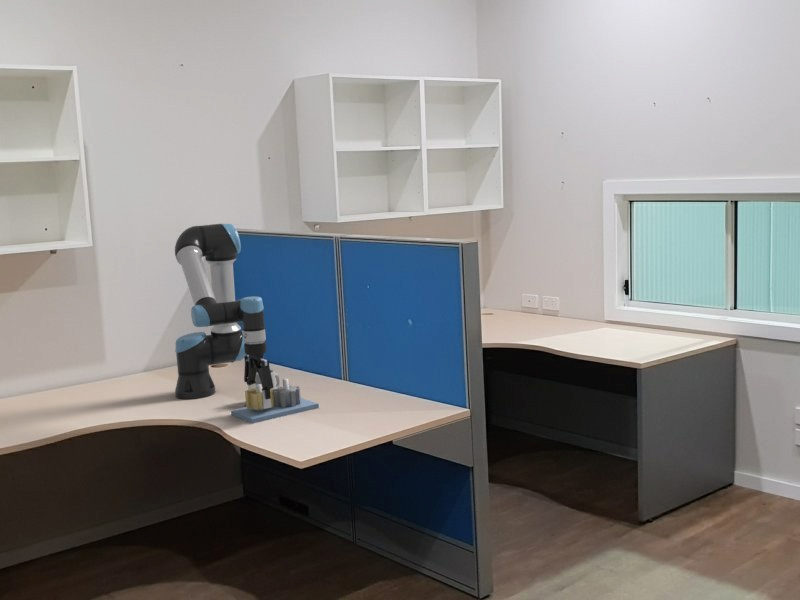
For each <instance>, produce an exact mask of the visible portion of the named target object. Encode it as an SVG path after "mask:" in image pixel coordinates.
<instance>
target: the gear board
mask: <svg viewBox="0 0 800 600" xmlns="http://www.w3.org/2000/svg"><path fill="white" fill-rule="evenodd" d="M289 384H290V383H289V378H283V379H282V386H280V387H278V388H277V389H273V396H274V406H272V407H271V408H267V409H264V408H263V409H258V410H254V409H247V407H246V406H245V407H240V408H237V409H231V410H230V415H231V416H232V417H236V418H239V419H241V420H244V421H245V422H248V423H251V424H255V423H260V422H265V421H269V420H273V419H277V417H278V418H281V416H282V417H285V416H290V415H293V414H297V413H302V412H307V411H311V410H315V409H320V406H319V402H315V401H311V400H309V399H306V398H303V397H301V388H300V386H298V385H297V386H292V385H289ZM261 389H262V385H261V384H258V385H256V392H262V390H261ZM272 418H273V419H272Z"/></svg>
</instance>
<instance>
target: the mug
mask: <svg viewBox="0 0 800 600" xmlns="http://www.w3.org/2000/svg"><path fill="white" fill-rule="evenodd" d="M270 372H271V377H272V381H273V388H272V390H273V389H277V388H278V387H281V382H280V381H281V380H280V379H281V378H280V376H279V374H278V373H276V372H275V370H273V369H270ZM255 381H256V383H254V384H256V385H258V384H261V380H260V377H259V374H258V372H256V377H255ZM261 385H262V384H261Z"/></svg>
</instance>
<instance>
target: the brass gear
mask: <svg viewBox="0 0 800 600" xmlns="http://www.w3.org/2000/svg"><path fill="white" fill-rule="evenodd" d="M262 389H263V387H262ZM244 393H245V407H247V409H254V410H258V409H263V397H262V392H256V388H252V389H251V390H245V391H244ZM270 395H271V406H274V396H273V390H272V388H271V389H270Z"/></svg>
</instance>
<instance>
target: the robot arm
mask: <svg viewBox="0 0 800 600" xmlns="http://www.w3.org/2000/svg"><path fill="white" fill-rule="evenodd" d="M241 249H242V244H241V239H240V236H239V232H238V230H237V228H236V227H235V225H234V224H233V223H214V224H203V225H193V226H190V227H188V228H186V229H184V231H182V232H181V234H179V236H178V238H177V239H176V241H175V246H174V255H175V259H176V261H177V263H178V265H181V268H182V271H183V274H184V278H185V280H186V284H187V287H188V289H189V292H190V295H191V298H192V302H193V306H192V307H191V309H190V315H191V321H192V324H193V326H194V327H195V328H205V327H206V328H208V327H211V328H210V334H207V333H206V332H205V331H197V332H191V333H187V334H184V335H182V336H179V337H178V338H177V339H176V341H175V350H174V351H175V354H176V365H177V375H178V376H177V381H176V385H175V390H174V393H175V394H174V395H175V398H176V399H183V400H190V399H191V400H192V399H201V398H205V397H209V396H212V395H214V394H215V393H216V385H215V383H214V380H213V379H212V376H211V374H210V368H209V367H210V366H215V365H221V364H228V363H232V364H233V363H235V362H239V361H242V360H244V373H243V374H244V376H243V377H244V378H243V381H244V383H246V385H247V387H248V388H247V389H248V390H251V389H252V388H256V384H254V383H256V381H255V377H256V372H258V374H259V377H260V380H261V384H262V387H263V389H261V390H262V397H263V408H264V409H267V408H271V407H272V406H271V395H270V389H271V388H273V381H272V377H271V372H270V370H271V368H270V360H269V359H265V355H264V354H266V353H267V351H268V348H267V342H266V339H267V337H266V326H265V325H266V324H265V315H264V312H265V311H264V309H265V306H264V303H263V298H262V297H260V296H254V295H253V296H246V297H242V298H240V299H236V295H235V294H236V291H235V277H234V276H235V275H234V274H235V273H234V262H235V261H236V260H237V254H240V253H241V251H242V250H241ZM204 257H205V258H204ZM202 258H204V259H205V262H207V263H208V264H209V270H210V279H209V276H208V273H207V271H206V268H205V266H204V263H203V260H202ZM210 281H211V283H210ZM238 323H242V324H241V325H242V327H241V325H240V324H238Z"/></svg>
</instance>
